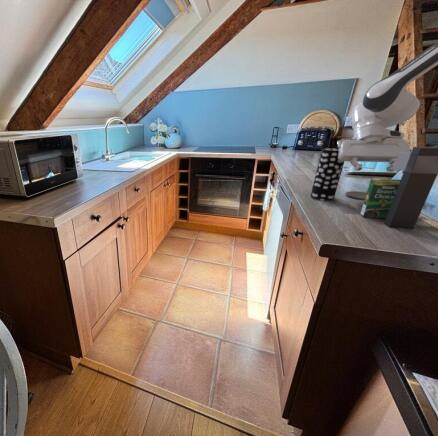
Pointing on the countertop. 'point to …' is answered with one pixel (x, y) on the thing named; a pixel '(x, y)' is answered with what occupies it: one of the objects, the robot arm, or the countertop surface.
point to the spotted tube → (327, 175)
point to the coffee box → (379, 198)
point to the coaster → (356, 195)
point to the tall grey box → (412, 186)
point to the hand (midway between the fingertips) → (374, 170)
